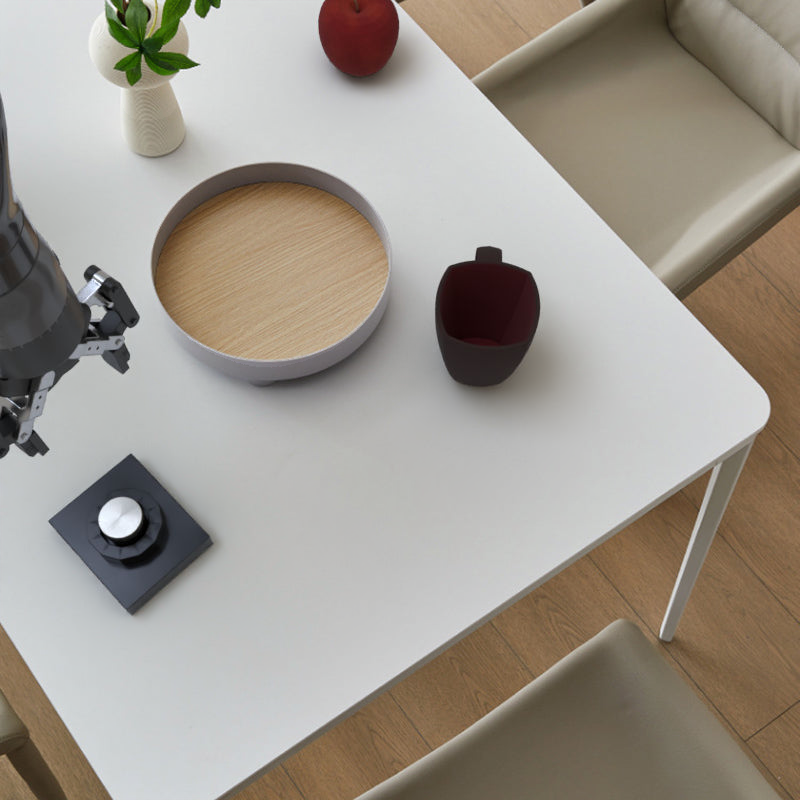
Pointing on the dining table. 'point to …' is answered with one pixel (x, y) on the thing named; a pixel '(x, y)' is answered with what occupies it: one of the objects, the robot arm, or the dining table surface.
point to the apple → (358, 34)
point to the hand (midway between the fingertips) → (78, 405)
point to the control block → (142, 559)
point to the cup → (485, 318)
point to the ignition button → (122, 520)
